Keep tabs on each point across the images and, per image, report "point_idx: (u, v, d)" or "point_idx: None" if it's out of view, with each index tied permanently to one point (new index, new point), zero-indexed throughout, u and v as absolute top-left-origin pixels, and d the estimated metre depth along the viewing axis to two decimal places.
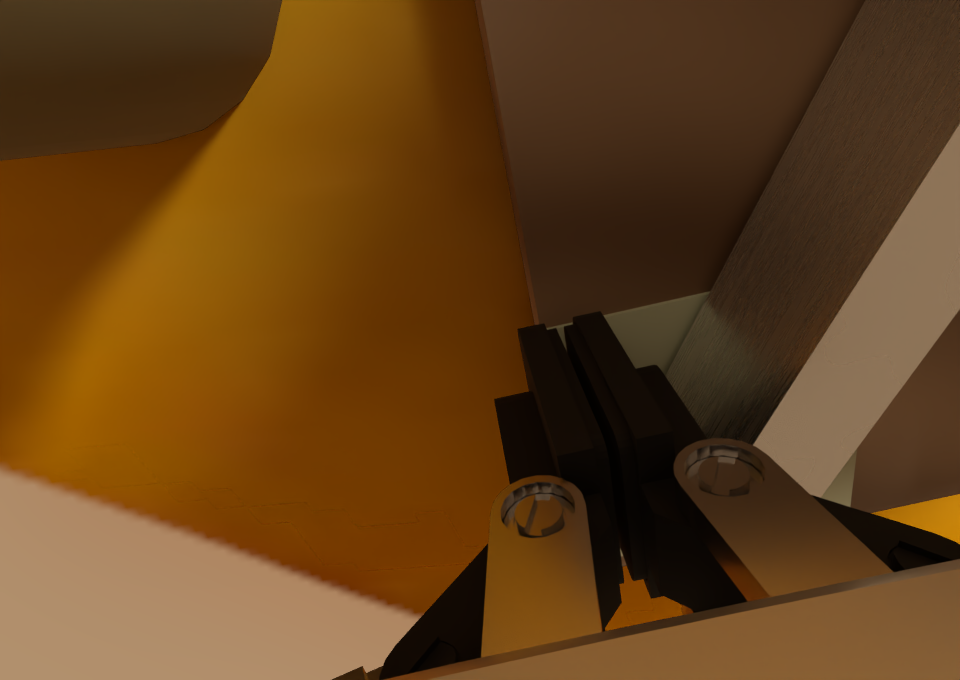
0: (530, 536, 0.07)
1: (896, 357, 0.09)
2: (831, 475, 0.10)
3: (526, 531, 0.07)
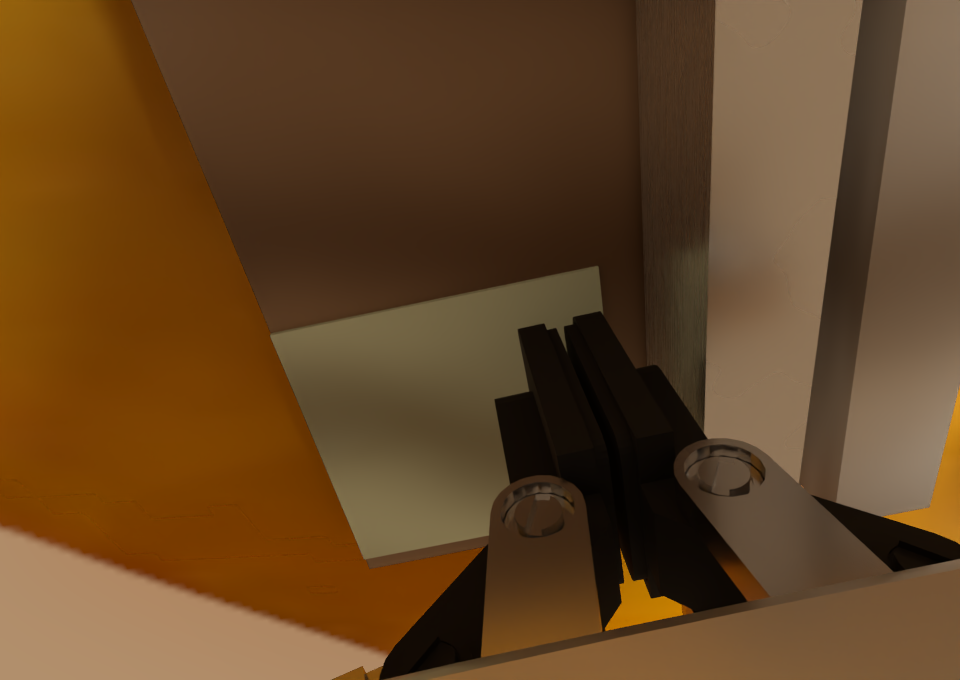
0: (530, 536, 0.07)
1: (788, 369, 0.10)
2: (795, 470, 0.11)
3: (526, 531, 0.07)
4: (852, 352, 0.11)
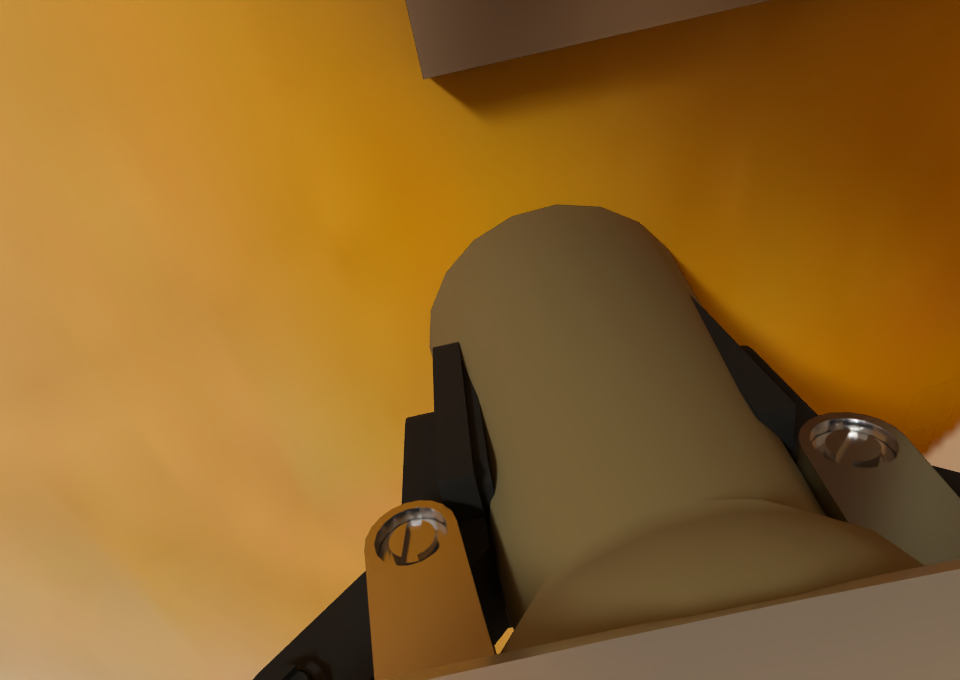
0: (407, 564, 0.07)
1: None
2: None
3: (403, 560, 0.07)
4: None
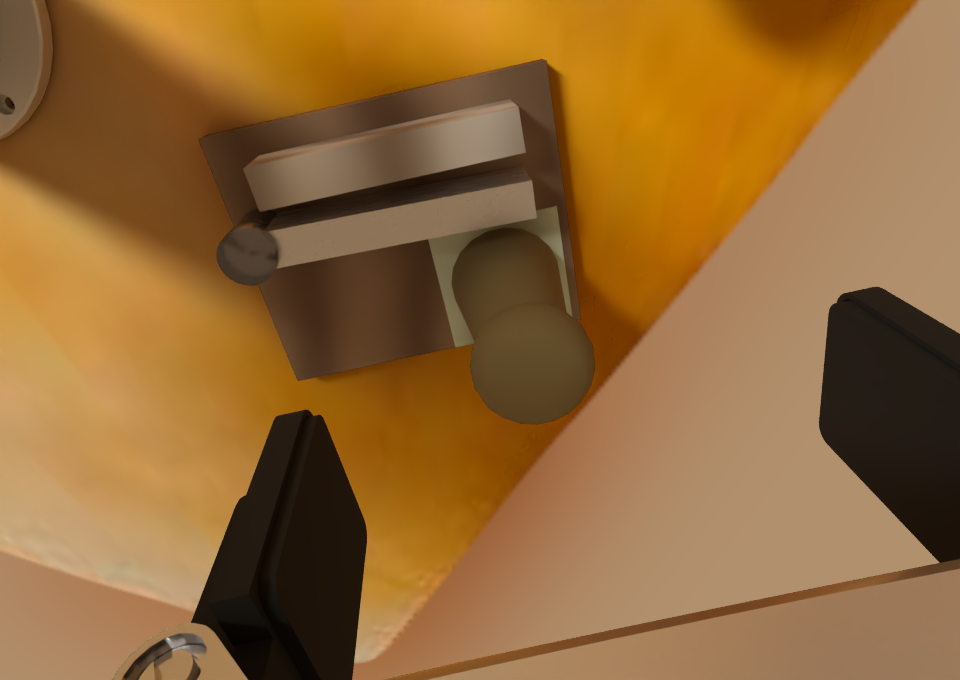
0: None
1: (434, 208, 0.28)
2: (482, 191, 0.28)
3: None
4: (435, 172, 0.28)
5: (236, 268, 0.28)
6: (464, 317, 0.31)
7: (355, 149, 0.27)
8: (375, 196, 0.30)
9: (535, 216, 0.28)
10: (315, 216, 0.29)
